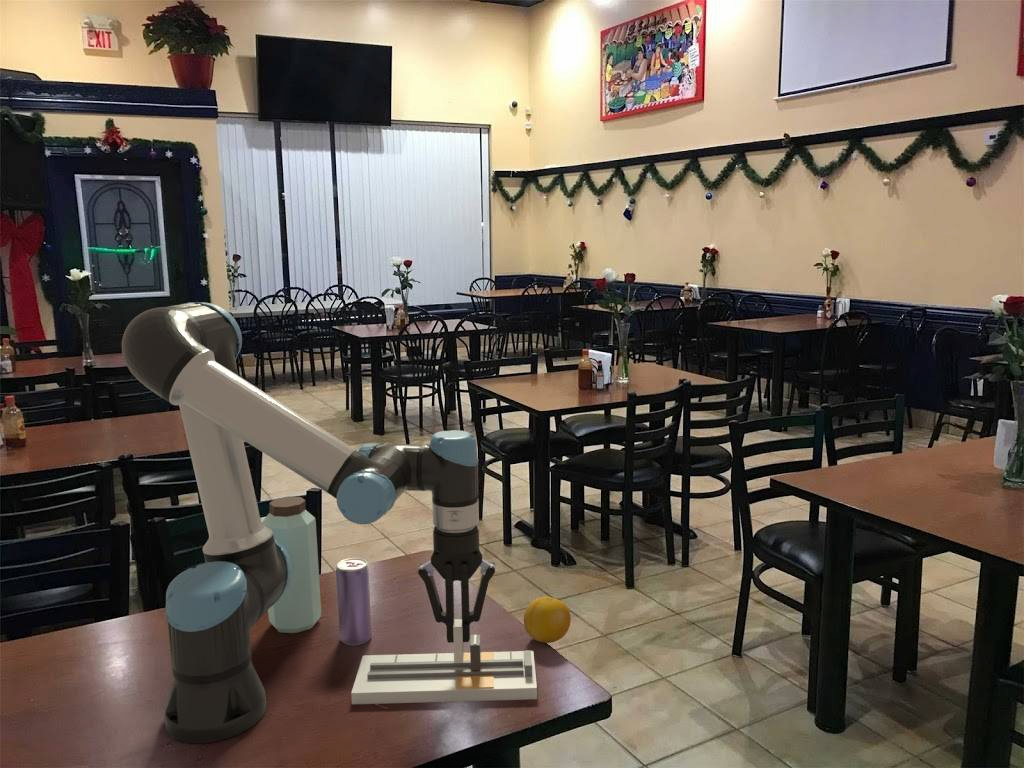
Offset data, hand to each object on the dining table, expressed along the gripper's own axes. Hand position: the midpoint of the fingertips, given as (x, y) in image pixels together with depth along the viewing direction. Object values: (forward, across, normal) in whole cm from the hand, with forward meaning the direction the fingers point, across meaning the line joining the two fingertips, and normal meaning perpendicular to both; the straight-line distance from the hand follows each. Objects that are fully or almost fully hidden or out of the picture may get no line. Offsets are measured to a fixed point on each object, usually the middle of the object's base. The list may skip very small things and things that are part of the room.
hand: (458, 658), depth 136 cm
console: (+4, -2, 0) cm, 5 cm away
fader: (+2, +3, 0) cm, 4 cm away
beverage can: (+5, -20, +16) cm, 26 cm away
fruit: (+4, +16, +14) cm, 22 cm away
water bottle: (+5, -33, +23) cm, 41 cm away
